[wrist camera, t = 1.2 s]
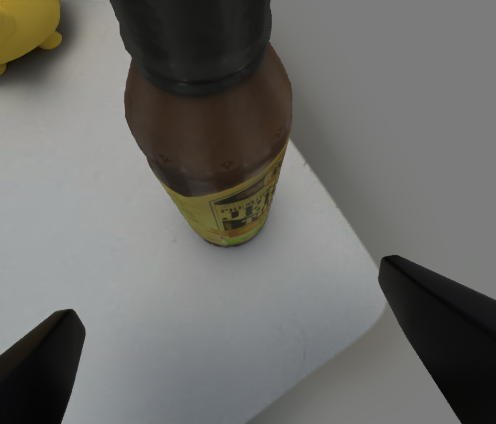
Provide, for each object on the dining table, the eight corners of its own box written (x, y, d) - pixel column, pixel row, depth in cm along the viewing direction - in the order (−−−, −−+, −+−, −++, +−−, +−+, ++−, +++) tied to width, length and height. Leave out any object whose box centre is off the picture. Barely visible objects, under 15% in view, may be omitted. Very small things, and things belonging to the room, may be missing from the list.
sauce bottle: (241, 265, 21) (170, -38, 2) (175, 223, 22) (-322, -263, 3) (283, 198, 22) (478, -341, 3) (219, 161, 23) (96, -418, 4)
